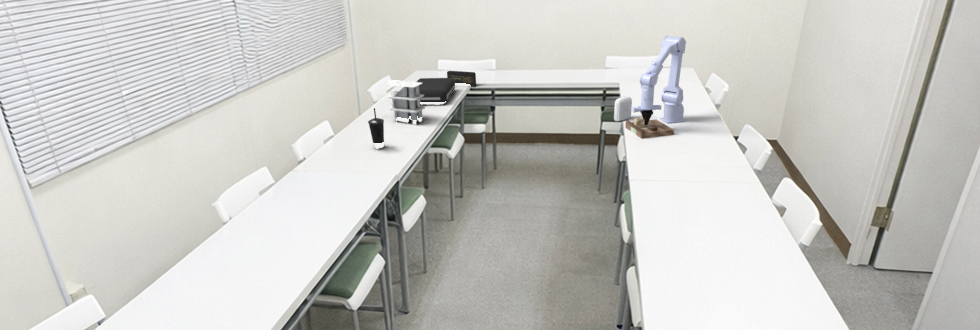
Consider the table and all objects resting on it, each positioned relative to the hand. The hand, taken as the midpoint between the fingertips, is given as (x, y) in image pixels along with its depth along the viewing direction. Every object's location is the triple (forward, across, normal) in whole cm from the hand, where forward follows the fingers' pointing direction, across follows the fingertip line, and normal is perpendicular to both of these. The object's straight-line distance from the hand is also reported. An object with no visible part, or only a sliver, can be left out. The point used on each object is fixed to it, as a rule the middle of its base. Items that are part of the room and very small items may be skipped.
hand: (645, 124), depth 285 cm
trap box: (+3, -2, 0) cm, 4 cm away
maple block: (+1, +3, -1) cm, 4 cm away
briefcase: (+4, +98, -106) cm, 144 cm away
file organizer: (+4, +115, -62) cm, 130 cm away
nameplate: (+4, +71, -130) cm, 148 cm away
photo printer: (+4, +2, -22) cm, 23 cm away
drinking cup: (+4, +131, -22) cm, 133 cm away
